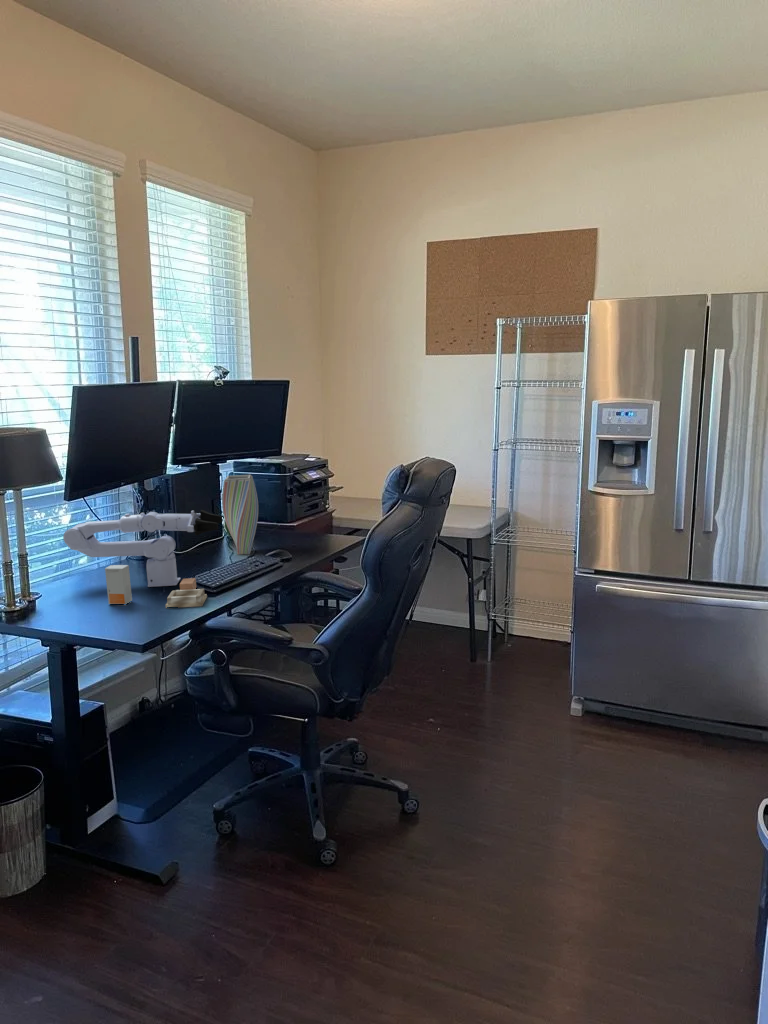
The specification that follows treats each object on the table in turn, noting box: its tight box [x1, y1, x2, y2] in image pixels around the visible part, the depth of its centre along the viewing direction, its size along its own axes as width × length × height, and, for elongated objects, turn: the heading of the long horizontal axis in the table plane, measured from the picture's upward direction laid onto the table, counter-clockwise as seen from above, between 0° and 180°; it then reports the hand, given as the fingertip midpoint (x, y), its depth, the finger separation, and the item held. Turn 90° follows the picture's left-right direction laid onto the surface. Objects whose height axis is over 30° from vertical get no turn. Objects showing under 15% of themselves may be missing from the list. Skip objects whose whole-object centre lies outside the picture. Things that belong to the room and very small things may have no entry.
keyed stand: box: [165, 588, 208, 609], centre depth 232 cm, size 11×9×3 cm
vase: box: [221, 474, 259, 555], centre depth 289 cm, size 14×14×30 cm
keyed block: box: [179, 577, 197, 590], centre depth 241 cm, size 4×6×4 cm, turn 4°
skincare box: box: [104, 564, 133, 605], centre depth 233 cm, size 6×4×12 cm
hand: (219, 522), depth 251 cm, fingers open, 7 cm apart
